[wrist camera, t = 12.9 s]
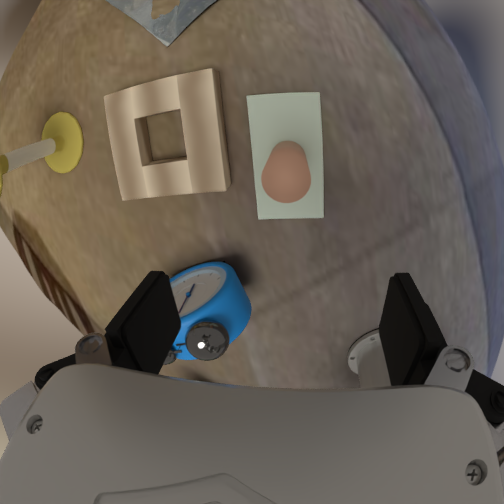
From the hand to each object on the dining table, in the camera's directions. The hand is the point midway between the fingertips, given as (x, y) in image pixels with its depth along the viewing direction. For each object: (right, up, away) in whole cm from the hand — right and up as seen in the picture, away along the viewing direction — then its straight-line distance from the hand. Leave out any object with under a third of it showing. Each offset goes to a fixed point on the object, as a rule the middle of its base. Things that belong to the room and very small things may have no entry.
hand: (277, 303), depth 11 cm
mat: (+3, +13, +20) cm, 24 cm away
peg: (+3, +13, +19) cm, 23 cm away
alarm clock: (-7, -2, +30) cm, 31 cm away
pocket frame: (-11, +16, +20) cm, 28 cm away
